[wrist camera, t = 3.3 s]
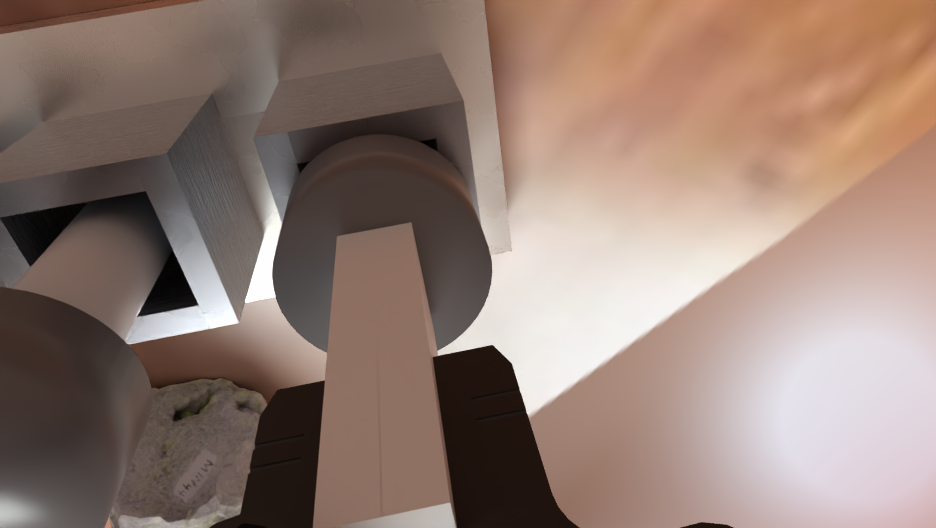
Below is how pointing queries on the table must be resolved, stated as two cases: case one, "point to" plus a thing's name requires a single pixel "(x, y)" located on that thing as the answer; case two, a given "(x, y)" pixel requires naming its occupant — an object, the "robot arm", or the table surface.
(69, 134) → the square socket rack
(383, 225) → the knob
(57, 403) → the knob
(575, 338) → the table surface
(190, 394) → the rock
